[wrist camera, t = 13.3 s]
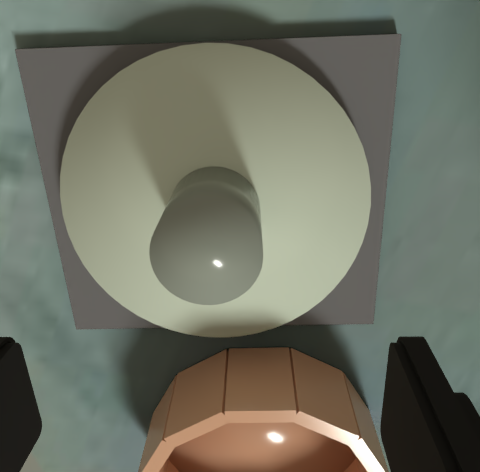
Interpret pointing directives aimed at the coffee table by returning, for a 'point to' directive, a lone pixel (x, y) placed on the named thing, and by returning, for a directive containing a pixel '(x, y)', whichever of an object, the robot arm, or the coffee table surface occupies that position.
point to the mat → (290, 49)
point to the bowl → (261, 418)
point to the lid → (215, 190)
